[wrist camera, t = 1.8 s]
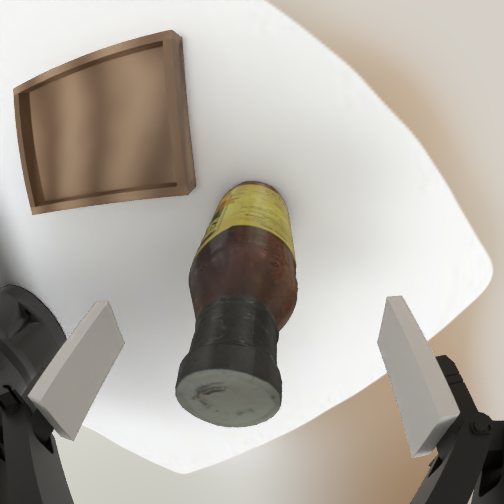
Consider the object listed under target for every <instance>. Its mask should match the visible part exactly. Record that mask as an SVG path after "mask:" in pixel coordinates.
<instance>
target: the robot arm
mask: <svg viewBox="0 0 504 504" xmlns="http://www.w3.org/2000/svg"><path fill="white" fill-rule="evenodd" d="M377 343H378V346H379V349H380V352H381V355H382V358H383V361H384V364H385V367H386V370H387V373H388V376H389V379H390V382H391V385H392V388H393V391H394V394H395V398H396V401H397V404H398V408H399V411H400V415H401V418H402V421H403V425H404V429H405V432H406V436H407V440H408V443H409V447H410V451H411V455H412V458H415V457H419V456H423V455H427V454H430V453H431V452H432V451H433V449H434V448H435V447H437V451H438V455H437V456H436V457H435V458H434V459H433V461H432V462H431V463H430V464H429V466H430V467H431V468H430V469H429V472H428V473H427V475H426V477H425V479H424V480H423V482H422V484H421V486H420V488H419V489H418V491H417V493H416V494H415V496H414V498H413V499H412V501H411V502H410V504H467V503H468V501H469V499H470V496H471V494H472V492H473V490H474V492H473V497H472V502H471V504H504V421H493V420H491V418H490V417H489V416H487V415H486V414H484V413H481V412H478V410H477V408H476V406H475V404H474V402H473V400H472V397H471V395H470V393H469V391H468V389H467V387H466V385H465V383H464V382H463V379H462V377H461V375H459V371H458V369H457V368H456V366H455V363H454V362H453V361H452V360H451V359H449V358H448V357H447V356H446V355H442V356H438V357H435V356H434V354H433V352H432V350H431V348H430V346H429V345H428V342H427V340H426V339H425V337H424V335H423V333H422V331H421V329H420V327H419V325H418V323H417V322H416V320H415V318H414V316H413V314H412V313H411V311H410V309H409V307H408V305H407V304H406V302H405V300H404V298H403V297H402V296H392V297H387V299H386V304H385V309H384V314H383V319H382V324H381V328H380V333H379V337H378V342H377ZM124 344H125V343H124V340H123V338H122V335H121V333H120V330H119V327H118V325H117V322H116V320H115V317H114V314H113V311H112V309H111V306H110V303H109V301H96V303H95V304H94V305H93V306H92V308H91V309H90V310H89V311H88V313H87V314H86V315H85V317H84V318H83V319H82V320H81V322H80V323H79V324H78V326H77V327H76V328H75V330H74V331H73V332H72V334H71V335H70V336H69V338H68V339H67V340H66V338H65V336H64V333H63V331H62V329H61V327H60V326H59V324H58V322H57V321H56V319H55V318H54V316H53V315H52V314H51V312H50V311H49V310H48V309H47V308H46V307H45V306H44V305H43V303H42V302H40V301H39V300H38V299H37V298H36V297H35V296H34V295H32V294H31V293H29V292H28V291H26V290H25V289H23V288H21V287H18V286H14V285H7V286H5V287H3V288H2V289H1V290H0V504H74V502H73V499H72V497H71V494H70V491H69V488H68V485H67V481H66V478H65V475H64V472H63V469H62V465H61V461H60V458H59V454H58V450H57V446H56V442H55V438H54V436H53V434H52V432H53V430H54V429H55V430H56V432H57V433H58V434H59V435H60V436H61V437H64V438H66V439H69V440H72V441H74V439H75V437H76V435H77V433H78V431H79V429H80V427H81V425H82V423H83V421H84V419H85V417H86V415H87V413H88V411H89V409H90V407H91V405H92V403H93V401H94V399H95V397H96V395H97V393H98V392H99V390H100V388H101V386H102V384H103V382H104V380H105V378H106V376H107V375H108V373H109V371H110V369H111V367H112V365H113V364H114V362H115V360H116V358H117V356H118V354H119V353H120V351H121V349H122V347H123V346H124Z"/></svg>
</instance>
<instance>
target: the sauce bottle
mask: <svg viewBox="0 0 504 504" xmlns="http://www.w3.org/2000/svg"><path fill="white" fill-rule="evenodd" d="M297 285H298V283H297V280H296V260H295V253H294V246H293V239H292V232H291V225H290V219H289V214H288V210H287V207H286V205H285V203H284V201H283V199H282V198H281V196H280V195H279V194H278V192H277V191H276V190H275V189H274V188H272V187H271V186H268V185H266V184H263V183H259V182H245V183H242V184H240V185H238V186H236V187H234V188H233V189H232V190H230V191H229V192H228V193H227V194H226V195H225V196H224V197H223V198H222V200H221V201H220V203H219V205H218V208H217V210H216V212H215V214H214V216H213V218H212V220H211V222H210V224H209V227H208V229H207V231H206V233H205V235H204V238H203V239H202V242H201V245H200V247H199V249H198V251H197V253H196V255H195V257H194V260H193V263H192V266H191V268H190V273H189V288H190V293H191V298H192V302H193V307H194V312H195V318H196V324H195V333H194V336H193V339H192V343H191V347H190V350H189V353H188V354H187V355H186V356H185V357H184V359H183V360H182V362H181V364H180V367H179V372H178V378H177V383H176V386H175V388H176V397H177V400H178V402H179V403H180V404H181V406H182V407H183V408H184V409H185V410H187V411H188V412H189V413H191V414H192V415H194V416H195V417H197V418H199V419H202V420H204V421H206V422H209V423H212V424H215V425H217V426H224V427H247V426H252V425H257V424H259V423H261V422H265V421H267V420H268V419H270V418H271V417H273V416H274V415H275V414H276V413H277V412H278V410H279V408H280V406H281V400H282V380H281V376H280V372H279V369H278V367H277V342H278V338H279V331H280V330H281V329H282V328H283V327H284V325H285V324H286V323H287V321H288V320H289V318H290V316H291V315H292V313H293V311H294V308H295V305H296V301H297V291H298V288H297Z"/></svg>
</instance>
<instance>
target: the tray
mask: <svg viewBox="0 0 504 504" xmlns="http://www.w3.org/2000/svg"><path fill="white" fill-rule="evenodd" d="M13 92H14V108H15V120H16V129H17V138H18V145H19V152H20V158H21V164H22V170H23V175H24V180H25V185H26V190H27V194H28V199H29V203H30V207H31V211H32V215H35V214H41V213H47V212H53V211H60V210H66V209H72V208H79V207H86V206H93V205H101V204H108V203H116V202H124V201H133V200H142V199H151V198H161V197H171V196H181V195H188V194H189V193H190V192H191V191H192V190H193V189H194V188H195V187H196V182H195V174H194V165H193V156H192V147H191V138H190V129H189V119H188V108H187V97H186V86H185V73H184V60H183V45H182V37H181V36H179V35H178V34H177V33H175V32H174V31H173V30H168V31H164V32H159V33H155V34H151V35H147V36H143V37H140V38H136V39H132V40H129V41H126V42H122V43H119V44H116V45H113V46H110V47H107V48H104V49H101V50H98V51H95V52H93V53H90V54H87V55H84V56H82V57H79V58H77V59H74V60H72V61H69V62H67V63H65V64H62V65H60V66H58V67H56V68H53V69H51V70H49V71H47V72H45V73H43V74H41V75H39V76H37V77H35V78H33V79H31V80H29V81H27V82H25V83H23V84H21V85H19V86H17V87H16V88H14V89H13Z"/></svg>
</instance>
